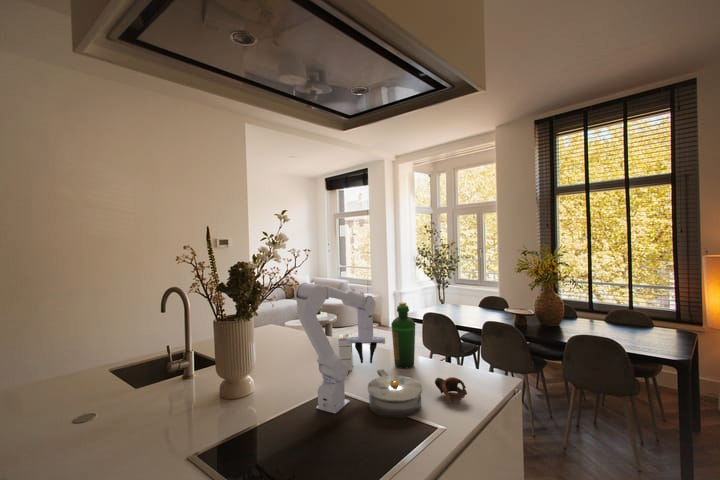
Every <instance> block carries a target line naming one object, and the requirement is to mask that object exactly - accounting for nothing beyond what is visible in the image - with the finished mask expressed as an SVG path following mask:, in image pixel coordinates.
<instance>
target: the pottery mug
mask: <svg viewBox="0 0 720 480" xmlns="http://www.w3.org/2000/svg"><path fill="white" fill-rule="evenodd" d="M434 384H435V387H436V388H437V389H438V390H439V391H440V394H444V396H445V397H444V402H446V403H447V404H450V403H453V402H458V401H461V400H462V399H464V398H465V396H466V395H468V393H467V390H466V385H465V383H464V381H462V380H461V379H459V378H457V377H451V376H450V377H447V378H446V379H444V378H442V377H437V378H435V380H434ZM458 384H460V385H461V387H462V388H460V387H459V386H458ZM454 392H455V393H454Z"/></svg>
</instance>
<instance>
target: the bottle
mask: <svg viewBox="0 0 720 480" xmlns="http://www.w3.org/2000/svg"><path fill="white" fill-rule="evenodd" d="M398 304H399V305H397V307H396V312H397V314H398V316H397V317H396V318H394V319H393V320H392V322H391V324H390V325H391V335H392V336H391V337H392V348H393V359H394V366H395V367H396V368H399V369H405V370H406V369H411V368H413V367H414V366H415V351H416V349H415V348H416V346H415V345H416V322H415V321H414V320H413V319H412V318H411V317H409V315H408V314H409V312H410V308H409V305H408V304H407V302H398Z"/></svg>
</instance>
